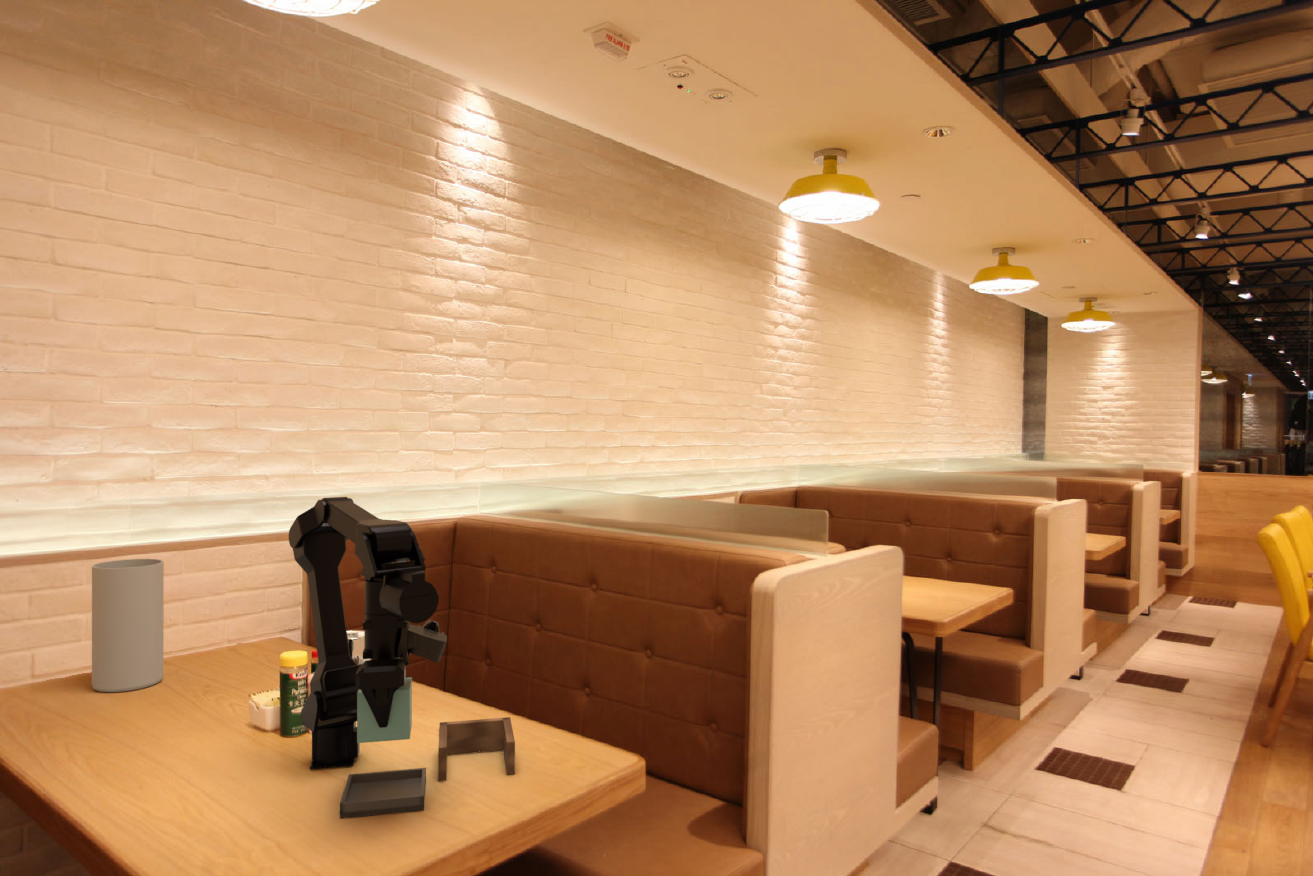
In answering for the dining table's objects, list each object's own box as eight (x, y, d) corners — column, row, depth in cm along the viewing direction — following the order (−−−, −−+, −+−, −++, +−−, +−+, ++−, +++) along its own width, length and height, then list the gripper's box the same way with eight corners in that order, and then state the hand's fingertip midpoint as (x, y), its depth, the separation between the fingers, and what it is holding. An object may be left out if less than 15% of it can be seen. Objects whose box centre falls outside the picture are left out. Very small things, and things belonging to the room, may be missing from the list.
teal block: (357, 743, 115) (357, 693, 115) (361, 728, 121) (362, 680, 121) (409, 739, 117) (409, 689, 117) (411, 724, 123) (411, 677, 123)
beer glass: (357, 723, 150) (357, 640, 149) (322, 720, 151) (323, 638, 151) (377, 710, 156) (378, 631, 156) (344, 707, 158) (344, 629, 158)
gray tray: (339, 818, 113) (339, 804, 113) (348, 787, 122) (348, 774, 122) (423, 810, 115) (423, 796, 115) (426, 780, 125) (426, 767, 125)
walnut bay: (438, 781, 125) (438, 748, 125) (439, 753, 136) (439, 722, 136) (514, 774, 128) (514, 741, 128) (510, 747, 139) (510, 717, 139)
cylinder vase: (139, 693, 165) (139, 568, 165) (77, 693, 165) (76, 568, 165) (176, 675, 178) (176, 559, 178) (118, 674, 178) (118, 558, 178)
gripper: (442, 623, 111) (442, 738, 112) (444, 595, 130) (444, 695, 130) (355, 627, 109) (354, 745, 109) (369, 598, 127) (369, 700, 127)
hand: (385, 719), depth 119 cm, fingers closed on teal block, 6 cm apart
